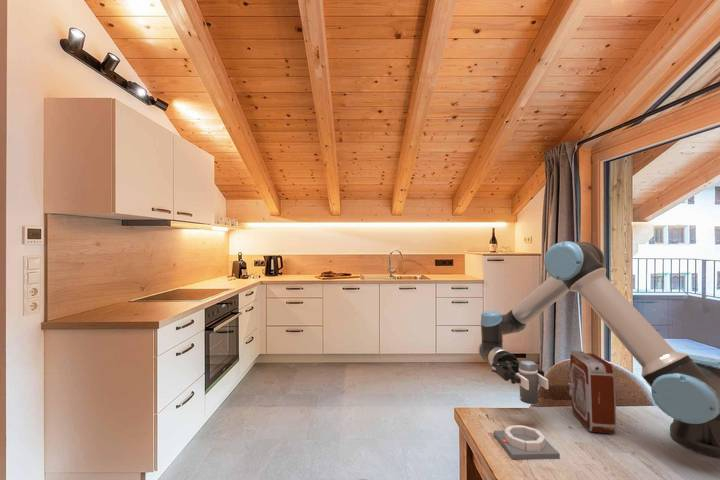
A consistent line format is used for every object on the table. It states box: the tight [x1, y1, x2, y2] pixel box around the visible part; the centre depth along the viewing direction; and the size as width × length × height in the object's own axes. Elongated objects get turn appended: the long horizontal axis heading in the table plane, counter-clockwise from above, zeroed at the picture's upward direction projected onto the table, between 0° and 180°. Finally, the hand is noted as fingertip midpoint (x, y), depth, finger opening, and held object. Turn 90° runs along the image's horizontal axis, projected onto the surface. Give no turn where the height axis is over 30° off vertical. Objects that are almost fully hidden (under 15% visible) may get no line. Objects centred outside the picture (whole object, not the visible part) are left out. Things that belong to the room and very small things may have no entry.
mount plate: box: [493, 424, 561, 460], centre depth 95 cm, size 12×12×3 cm
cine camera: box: [567, 350, 617, 434], centre depth 110 cm, size 9×19×20 cm, turn 169°
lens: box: [518, 360, 539, 405], centre depth 107 cm, size 5×5×11 cm
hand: (537, 384), depth 102 cm, fingers closed on lens, 5 cm apart
